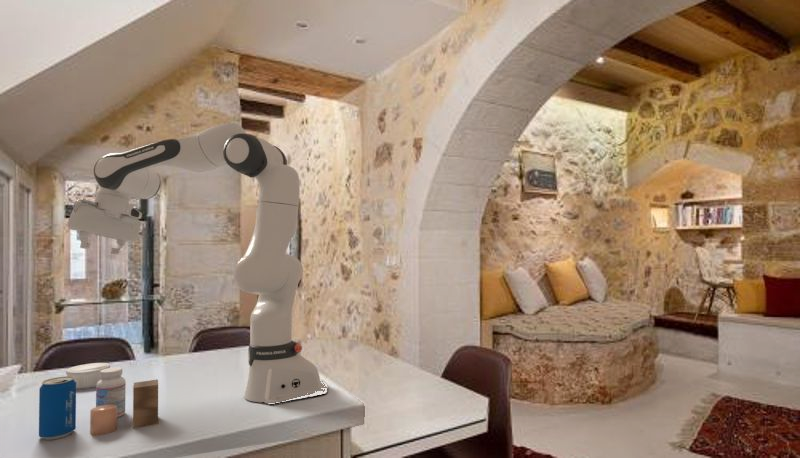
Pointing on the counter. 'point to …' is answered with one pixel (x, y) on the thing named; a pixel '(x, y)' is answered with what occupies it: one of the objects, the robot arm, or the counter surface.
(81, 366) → the ramekin
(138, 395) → the walnut block
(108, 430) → the peach rounded block
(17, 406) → the counter surface
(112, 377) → the pill bottle
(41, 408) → the beverage can
